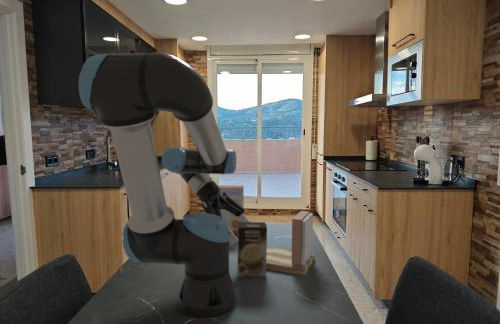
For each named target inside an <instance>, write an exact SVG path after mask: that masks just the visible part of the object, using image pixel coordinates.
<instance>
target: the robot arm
mask: <svg viewBox="0 0 500 324" xmlns="http://www.w3.org/2000/svg"><path fill="white" fill-rule="evenodd" d="M78 93H79V97H80V100H81V103H82V105H83V106H84V107H85V109H87V110H88V111H90V112H92V113H97V114H98V118H99V122H100V124H101V126H103V127H105V128H107V129H108V130H110V135H111V138H112V141H113V147H114V149H115V153H116V157H117V161H118V165H119V169H120V173H121V177H122V180H123V185H124V188H125V193H126V196H127V201H128V204H129V209H130V213H131V215H130V216H129V217H128V219H127V222H126V223H125V225H124V228H123V230H122V231H123V232H122V237H123V240H122V247H123V250H124V254H125V255H126V256H127V258H128V259H129V260H130V261H131V262H136V263H142V264H158V265H159V264H164V265H165V264H166V265H183V266H184V277H183V281H182V283H181V287H180V289H179V292H178V307H179V309H180V310H181V311H182V312H183V313H184V314H187V315H189V316H192V317H197V318H199V317H200V318H209V317H215V316H219V315H222V314H224V313H227V312H229V311H230V310H231V309H233V307H234V306H235V304H236V298H237V297H236V296H237V295H236V294H237V293H236V290H235V287H234V283H233V281H232V278H231V275H230V261H229V260H230V245H231V247H233V246H234V245H235V244H237V243H238V241H239V240H238V236H236V234H234V233H233V232H232V231H231V230H230V228H229V227H228V224H227V222H226V220H224V219H223V218H222V215H221V211H220V209H225V210H227V211H228V212H230V213H232V214H234V215H235V216H237V217H238V218H237V219H238V220H239V221H240V222H251V220H249V218H248V217H247V216H246V215H245V212H246V211H245V208H244V209H243V208H242V207H241V206H240V205H238V204H237V203H236V202H235V201H233V200H232V199H231V198H230V197H228V195H227V194H226V193H225V192H224V193H222V194H221V195H220V194H219V193H218V191H219V187H218V184H217V183H216V182H215V181H214V180H213V178H212V177H211V176H210V175H212V174H213V175H227V174H230V175H231V174H234V173H235V172H236V169H237V153H236V151H235V150H234V149H228V148H226V145H225V143H224V140H223V137H222V134H221V132H220V128H219V126H218V123H217V120H216V118H215V114H214V112H213V109H212V108H213V106H214V99H213V96H212V92H211V90H210V88H209V86H208V84H207V83H206V81H205V80H204V78H203V77H202V76H201V75H200V73H198V72H197V70H195V69H194V68H193V67H192V66H191V65H189V64H188V63H187V62H185V61H183V60H182V59H180V58H179V57H176V56H174V55H173V54H172V55H171V54H168V53H165V52H139V53H138V52H135V53H133V52H129V53H127V52H126V53H125V52H124V53H120V52H119V53H118V52H116V53H115V52H111V53H105V54H95V55H93V56H91V57H89V58H87V60H86V61H85V62H84V64H83V65H82V67H81V71H80V73H79V76H78ZM156 112H169V113H171V114H173V116H174V117H175V118H176V119H177V120H178V121H180V122H182V124H183V126H184V128H185V129H186V131H187V133H188V134H189V137H190V139H191V140H192V142H193V144H194V146H195V147H196V148H194V149H193V148H191V149H188V148H186V147H184V146H183V147H177V146H171V147H168V148H166V149H165V150H164V151H163V153H162V155H161V164H162V167H164V169H166V170H168V172H171V173H174V174H176V175H180V176H181V178H182V179H183V180H184V182H186V184H187V185H188V186H189V188H190V189H191V190H192V192H193V193H194V194H196V196H197V198H198V199H199V200H200V202H201V205H200V206H201V207H202V209H203V210H204V212H192V213H188V214H185V216H184V217H183V219H182V218H176V216H175V213H174V210H173V208H172V207H170V206H168V205H167V203H166V202H167V201H166V197H165V192H164V186H163V181H162V176H161V171H160V165H159V161H158V156H157V151H156V150H157V149H156V144H155V140H154V135H153V134H154V133H153V130H152V129H153V128H152V125H151V122H152V121H153V120H154V119H155V118H156V116H157V114H156ZM243 213H244V214H243Z"/></svg>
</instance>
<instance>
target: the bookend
mask: <svg viewBox="0 0 500 324" xmlns="http://www.w3.org/2000/svg"><path fill="white" fill-rule="evenodd" d="M313 220H314V214H313V212H309V215H308V216H307V217H306V218H305V219H304V220H303V221H302V251H301V265H295V264H292V265H294V266H299V267H305V265H306V264H307V262H308V261H309V259H310V258H311V256H312V254H313V229H314V227H313V225H314V221H313Z"/></svg>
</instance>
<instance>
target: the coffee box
mask: <svg viewBox="0 0 500 324" xmlns="http://www.w3.org/2000/svg"><path fill="white" fill-rule="evenodd" d="M237 238H238V240H239V241H238V242H237V264H236V265H237V267H236V268H237V271H236V272H237V273H236V274H237V277H238V278H266V277H267V269H266V251H267V247H268V246H267V244H268V242H267V240H268V239H267V238H268V226H267V224H266V221H264V222H263V221H262V222H259V221H250V222H238V234H237Z"/></svg>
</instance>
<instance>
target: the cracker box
mask: <svg viewBox="0 0 500 324" xmlns="http://www.w3.org/2000/svg"><path fill="white" fill-rule="evenodd" d="M217 185H218V184H217ZM218 187H219V191H218V193H219V194H220V195H221V194H222V193H224V192H225V193H226V194H227V195H228V197H230V198H231V199H232V200H233V201H235V202H236V203H237V204H238V205H240V206H241V207H242V208H243V209H244V210H245V208H244V206H245V205H244V204H245V203H244V202H245V201H244V199H245V198H244V194H245V192H244V185H225V184H224V185H223V184H222V185H220V184H219V185H218ZM220 211H221V215H222V218H223V219H224V220H226V222H227V224H228V227H229V228H230V230H231V231H232V232H233V233H234V235H238V222H240V221H239V220H238V219H237V218H238V217H237V216H235V215H234V214H232V213H230V212H228V211H227V210H225V209H220ZM243 214H244V215H245V212H244V213H243Z"/></svg>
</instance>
